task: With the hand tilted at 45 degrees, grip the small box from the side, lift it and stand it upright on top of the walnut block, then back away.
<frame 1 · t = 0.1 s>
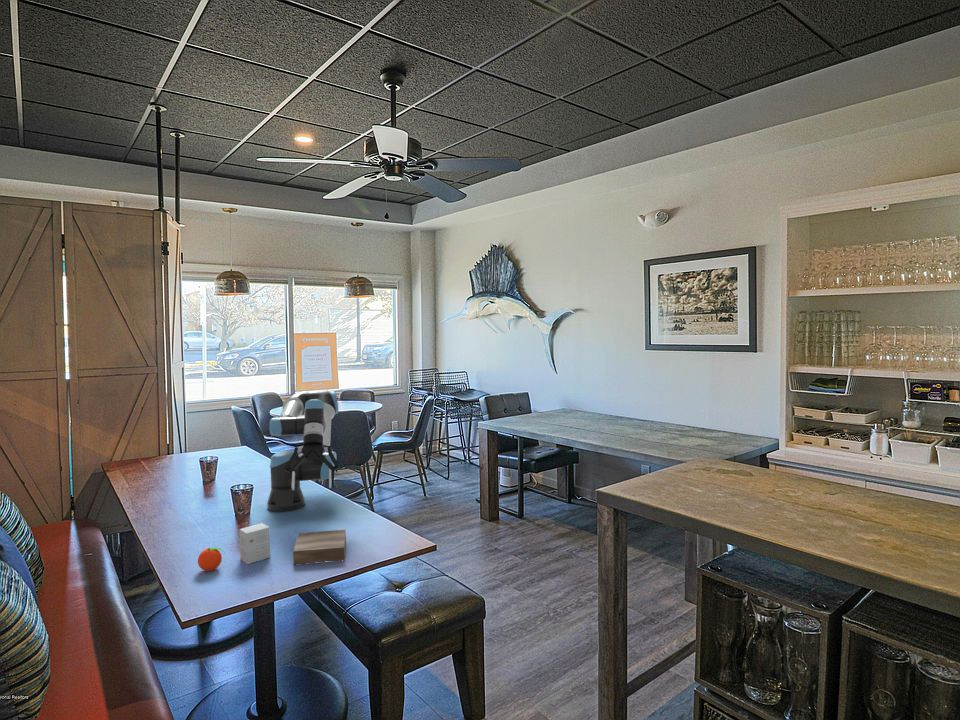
hand: (311, 488, 217), 15 cm above the table, tool tilted 35°, fingers open, 13 cm apart
small box: (255, 559, 190), on the table
walnut block: (320, 554, 194), on the table
clementine: (212, 570, 182), on the table
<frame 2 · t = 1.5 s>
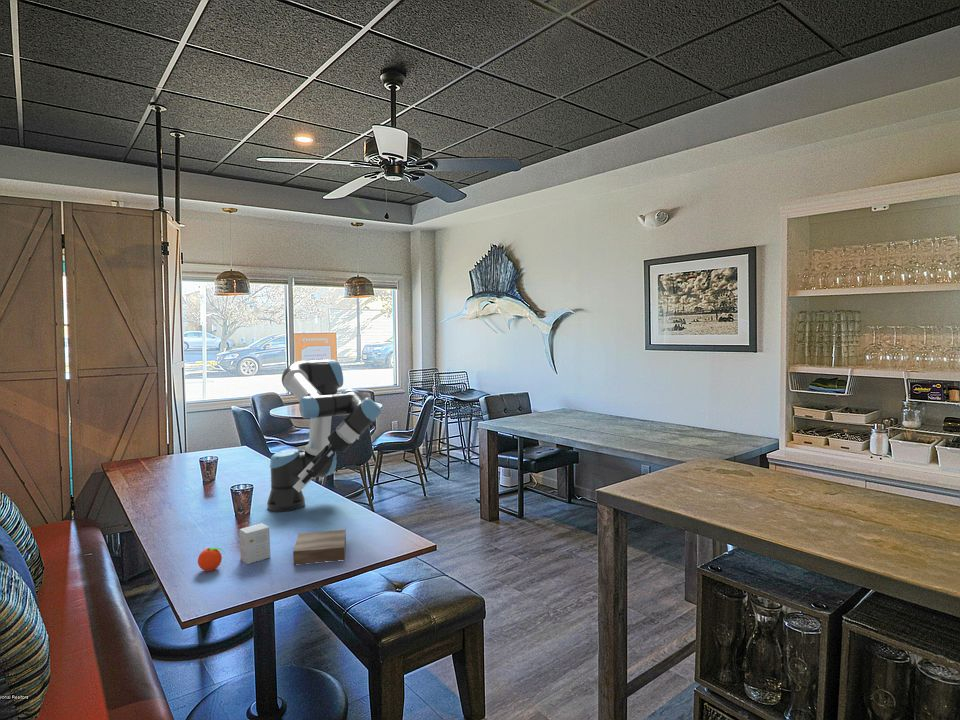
hand: (298, 483, 191), 24 cm above the table, tool tilted 45°, fingers open, 13 cm apart
nothing on the table moved.
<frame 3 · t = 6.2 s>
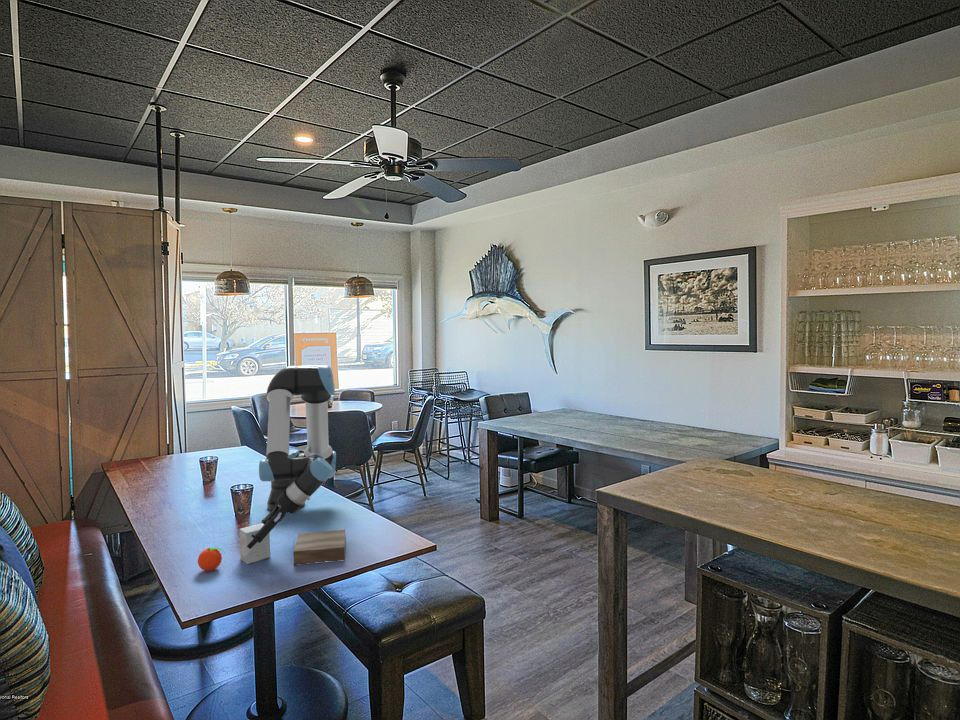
hand: (244, 548, 189), 4 cm above the table, tool tilted 45°, fingers closed on small box, 9 cm apart
small box: (255, 559, 190), on the table, touching gripper
everything else where it was.
when the fingers open (10 cm above the table, at t = 11.4 s): small box drops 2 cm, point 4 cm above the table.
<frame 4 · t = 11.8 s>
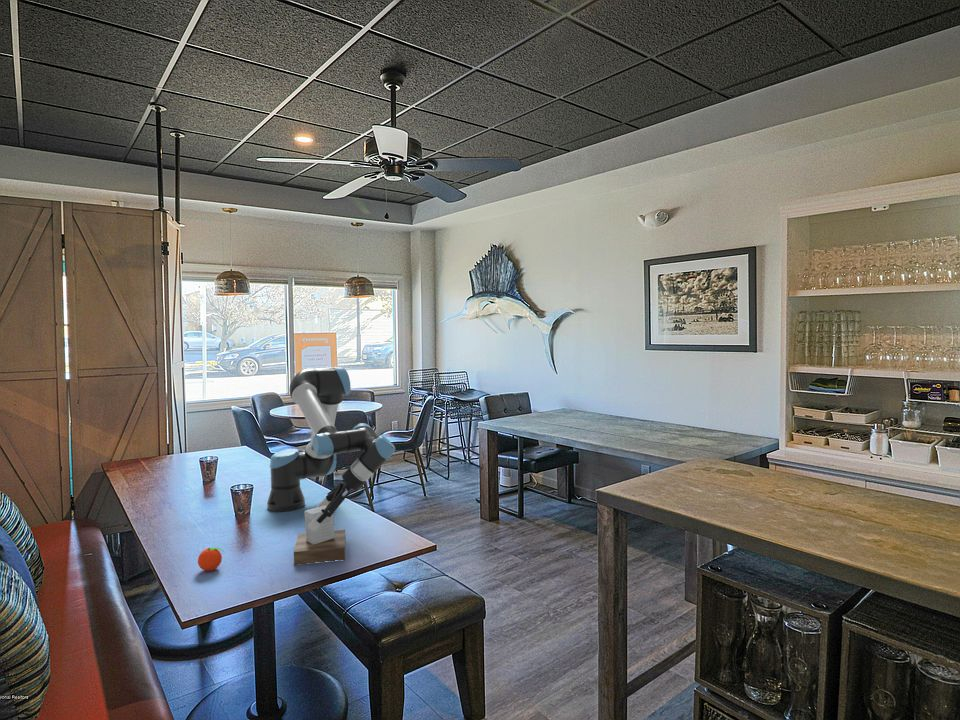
hand: (312, 521, 193), 11 cm above the table, tool tilted 45°, fingers open, 13 cm apart
small box: (320, 540, 194), point 4 cm above the table
everything else where it was.
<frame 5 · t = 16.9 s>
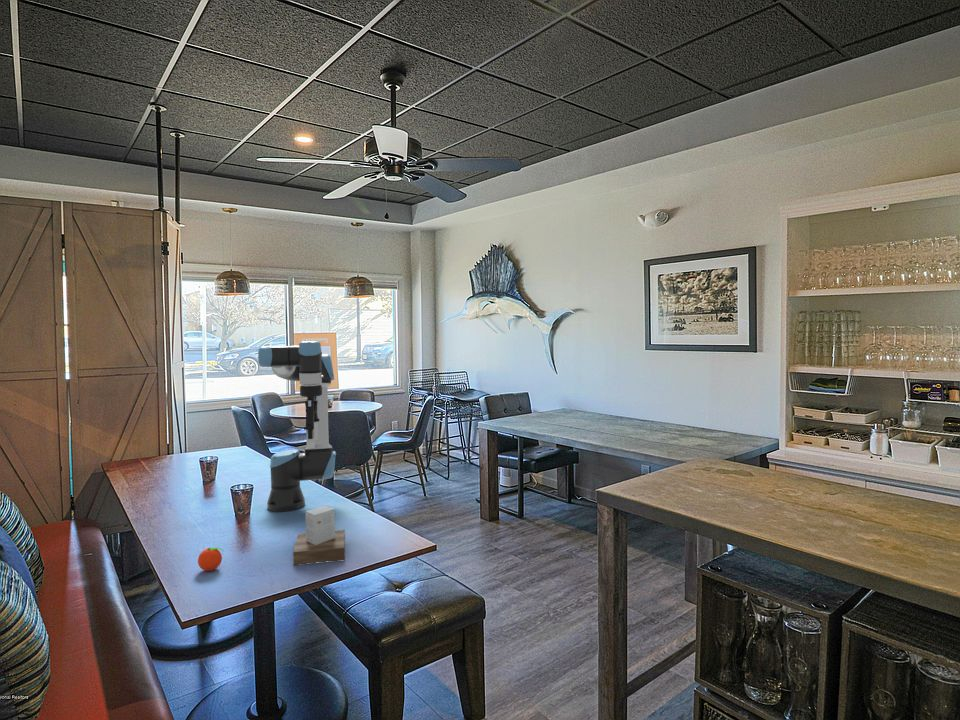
hand: (312, 443, 205), 35 cm above the table, tool pointing down, fingers open, 13 cm apart
small box: (320, 540, 194), point 4 cm above the table, touching walnut block
walnut block: (320, 554, 194), on the table, touching small box
everything else where it was.
at the end: small box inside the target area on the walnut block (0.3 cm from its centre), point 4.9 cm above the walnut block's base; small box tilted 1°; the gripper is holding nothing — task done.
